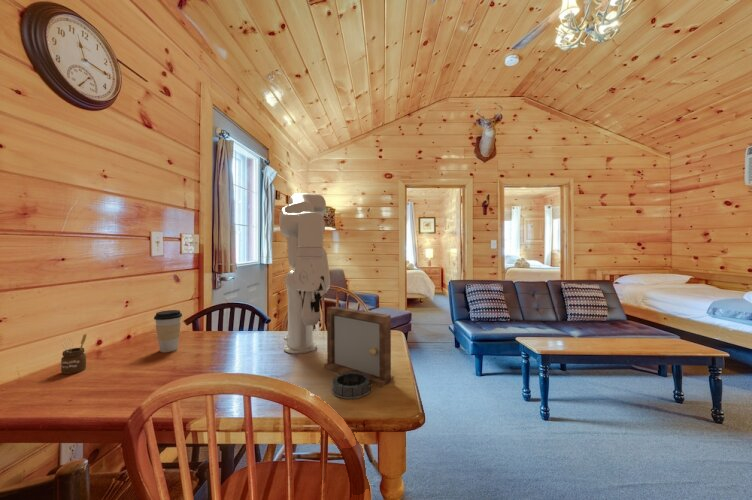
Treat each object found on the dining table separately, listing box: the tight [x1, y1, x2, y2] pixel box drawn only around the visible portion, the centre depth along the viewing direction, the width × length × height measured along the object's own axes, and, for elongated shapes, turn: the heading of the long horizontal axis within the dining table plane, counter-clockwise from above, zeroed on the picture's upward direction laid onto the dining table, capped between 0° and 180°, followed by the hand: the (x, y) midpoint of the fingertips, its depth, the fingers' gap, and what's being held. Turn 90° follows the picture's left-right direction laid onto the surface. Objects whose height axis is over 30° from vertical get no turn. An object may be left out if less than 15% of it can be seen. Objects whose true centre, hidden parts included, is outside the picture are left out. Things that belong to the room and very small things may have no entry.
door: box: [334, 315, 380, 377], centre depth 99 cm, size 19×3×16 cm, turn 53°
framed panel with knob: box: [323, 305, 395, 388], centre depth 99 cm, size 24×6×20 cm, turn 53°
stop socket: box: [331, 372, 372, 400], centre depth 88 cm, size 11×11×3 cm
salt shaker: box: [301, 291, 321, 326], centre depth 95 cm, size 6×6×13 cm
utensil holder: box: [60, 333, 87, 375], centre depth 102 cm, size 6×6×12 cm
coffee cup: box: [153, 309, 183, 353], centre depth 123 cm, size 9×9×15 cm
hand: (310, 312), depth 95 cm, fingers closed on salt shaker, 3 cm apart
